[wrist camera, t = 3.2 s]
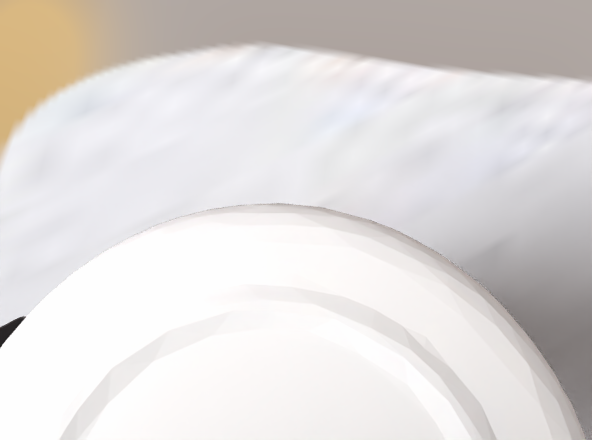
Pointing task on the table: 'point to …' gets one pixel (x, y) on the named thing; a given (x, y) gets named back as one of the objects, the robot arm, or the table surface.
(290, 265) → the sprinkles bottle
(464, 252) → the table surface
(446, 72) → the table surface
